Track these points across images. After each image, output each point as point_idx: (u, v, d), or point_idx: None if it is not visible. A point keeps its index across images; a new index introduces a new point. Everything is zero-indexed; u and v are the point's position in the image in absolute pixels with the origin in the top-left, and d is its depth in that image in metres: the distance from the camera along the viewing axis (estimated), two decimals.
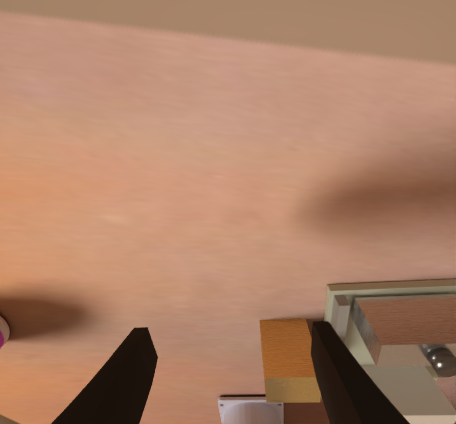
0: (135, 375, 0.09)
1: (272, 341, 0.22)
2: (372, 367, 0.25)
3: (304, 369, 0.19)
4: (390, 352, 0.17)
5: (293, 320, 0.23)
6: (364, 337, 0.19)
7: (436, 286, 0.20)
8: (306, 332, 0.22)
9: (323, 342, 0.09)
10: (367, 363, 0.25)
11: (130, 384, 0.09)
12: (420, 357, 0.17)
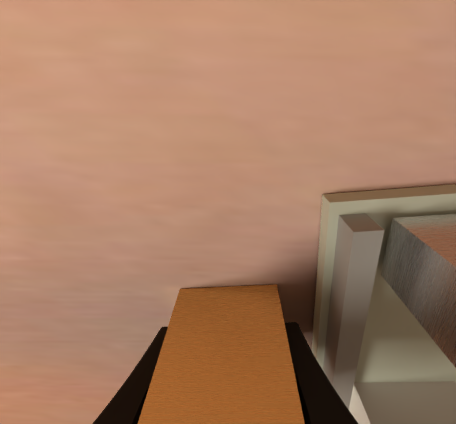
0: None
1: (191, 333, 0.09)
2: (417, 387, 0.12)
3: (255, 413, 0.07)
4: None
5: (250, 288, 0.11)
6: (429, 315, 0.07)
7: None
8: (274, 312, 0.09)
9: None
10: (406, 378, 0.12)
11: None
12: None
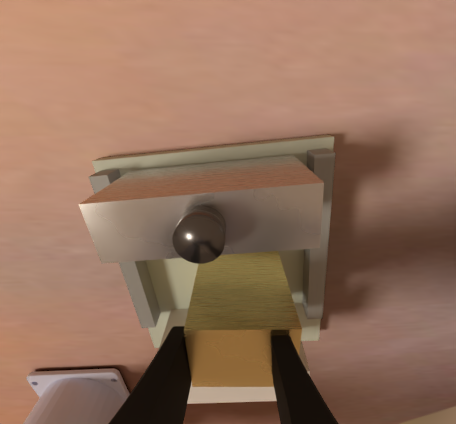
0: (179, 374, 0.09)
1: (214, 277, 0.12)
2: None
3: (267, 318, 0.10)
4: (106, 223, 0.08)
5: None
6: None
7: (264, 144, 0.12)
8: (277, 265, 0.13)
9: (273, 343, 0.09)
10: None
11: (176, 383, 0.09)
12: (170, 234, 0.08)
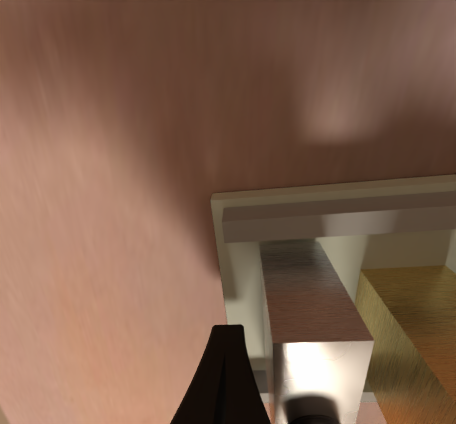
0: None
1: (375, 375, 0.10)
2: None
3: (436, 421, 0.07)
4: None
5: (358, 294, 0.11)
6: None
7: (220, 266, 0.11)
8: (377, 302, 0.09)
9: (226, 345, 0.09)
10: None
11: (225, 383, 0.09)
12: None
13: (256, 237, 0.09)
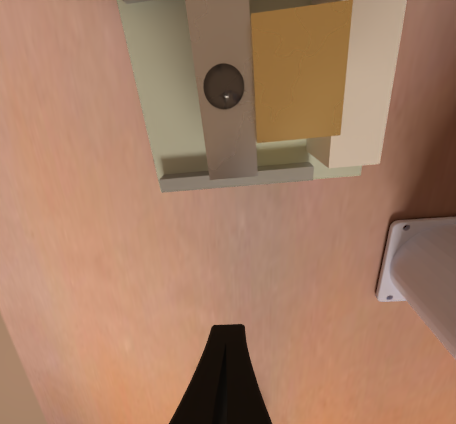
0: (226, 373, 0.09)
1: None
2: None
3: (252, 57, 0.10)
4: (224, 165, 0.12)
5: None
6: None
7: (129, 49, 0.14)
8: None
9: (227, 345, 0.09)
10: None
11: (224, 382, 0.09)
12: (232, 116, 0.11)
13: None
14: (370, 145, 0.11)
